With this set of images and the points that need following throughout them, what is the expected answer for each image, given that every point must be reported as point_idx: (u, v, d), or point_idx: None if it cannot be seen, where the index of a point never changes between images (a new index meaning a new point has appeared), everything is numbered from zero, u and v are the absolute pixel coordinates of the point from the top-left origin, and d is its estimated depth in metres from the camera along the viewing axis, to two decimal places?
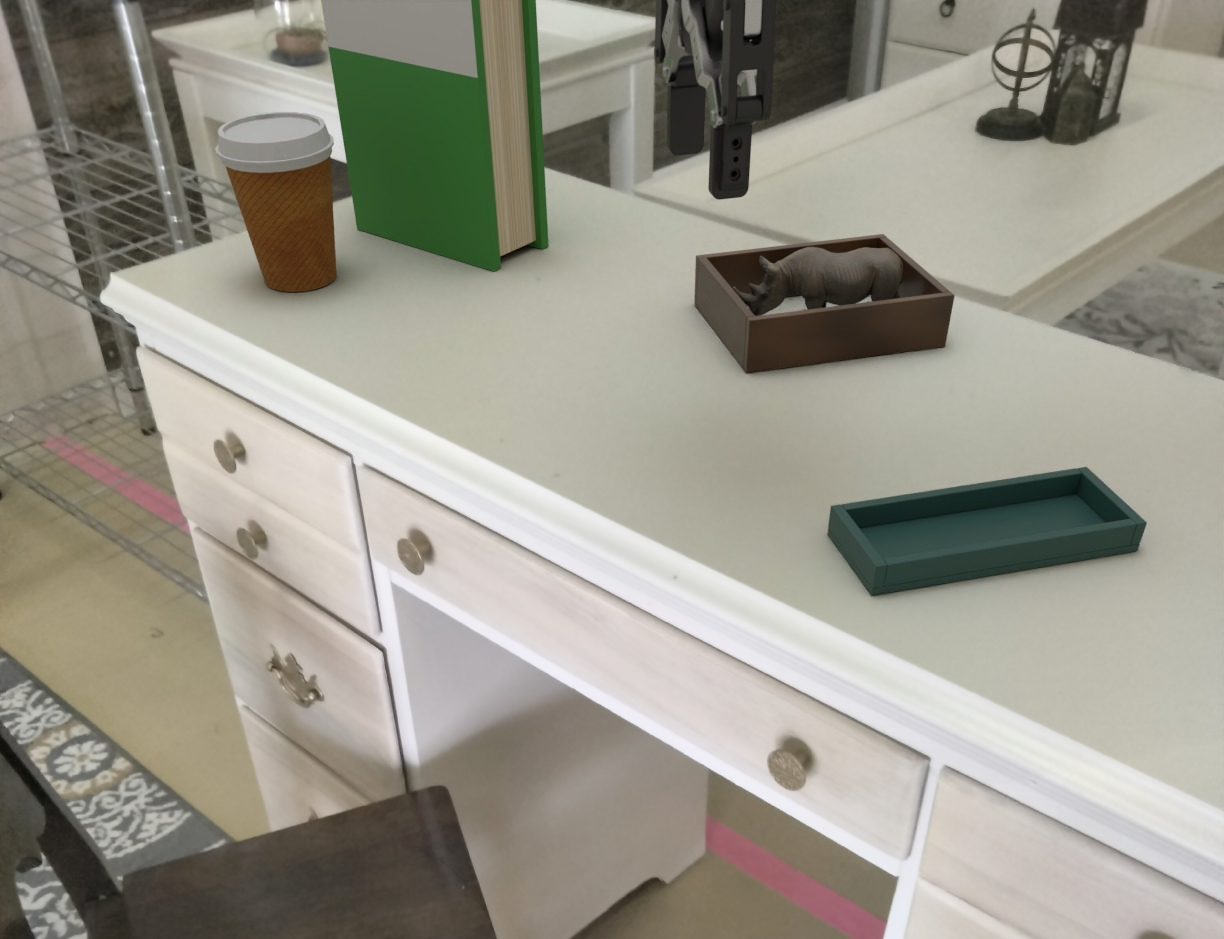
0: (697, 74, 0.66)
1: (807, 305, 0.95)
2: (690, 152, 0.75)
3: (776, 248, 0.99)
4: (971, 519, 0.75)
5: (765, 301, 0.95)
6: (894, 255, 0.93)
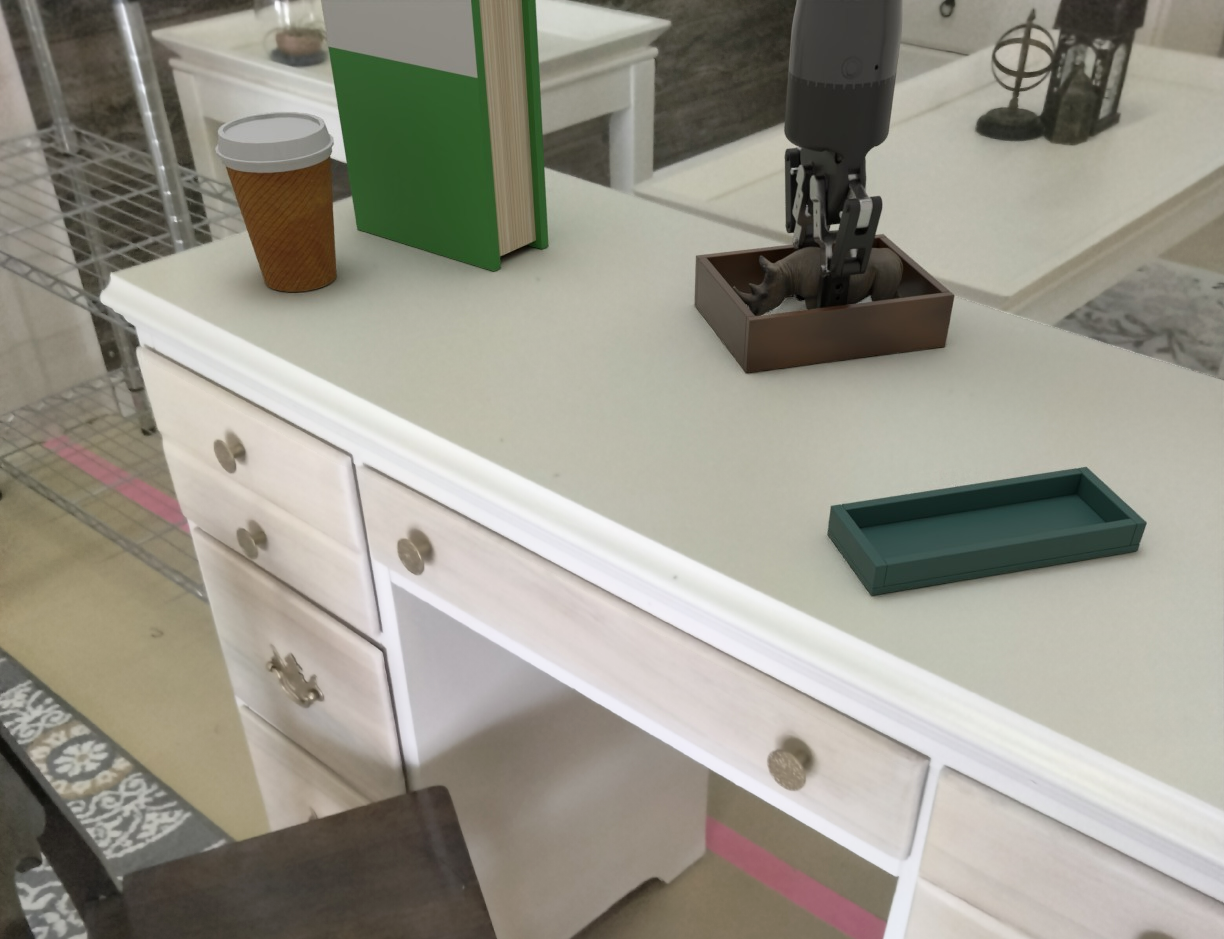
0: (815, 236, 0.90)
1: (807, 305, 0.95)
2: None
3: (776, 248, 0.99)
4: (971, 519, 0.75)
5: (765, 301, 0.95)
6: (894, 255, 0.93)
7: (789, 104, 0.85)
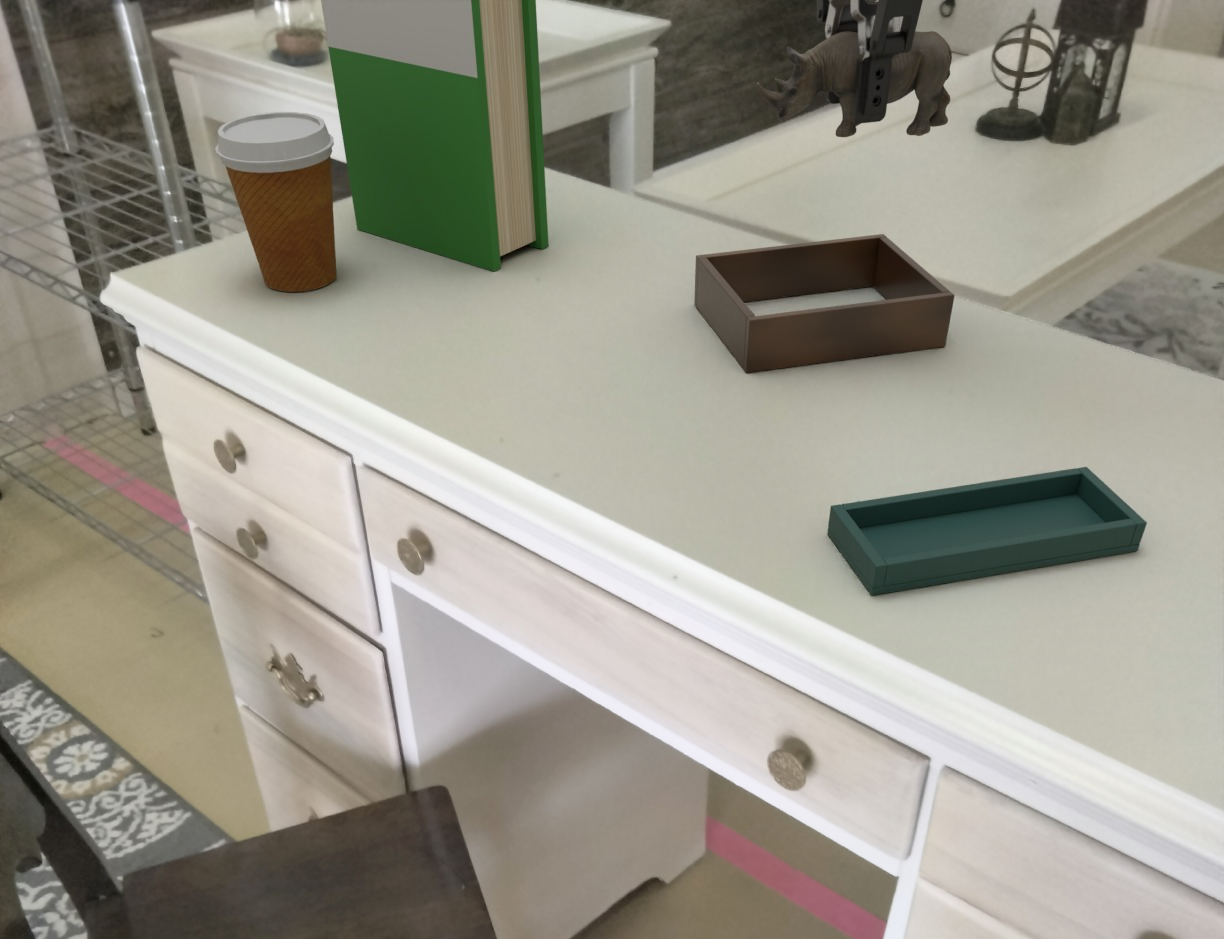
0: (852, 10, 0.78)
1: (841, 102, 0.83)
2: None
3: (776, 248, 0.99)
4: (971, 519, 0.75)
5: (793, 98, 0.83)
6: (942, 39, 0.81)
7: None
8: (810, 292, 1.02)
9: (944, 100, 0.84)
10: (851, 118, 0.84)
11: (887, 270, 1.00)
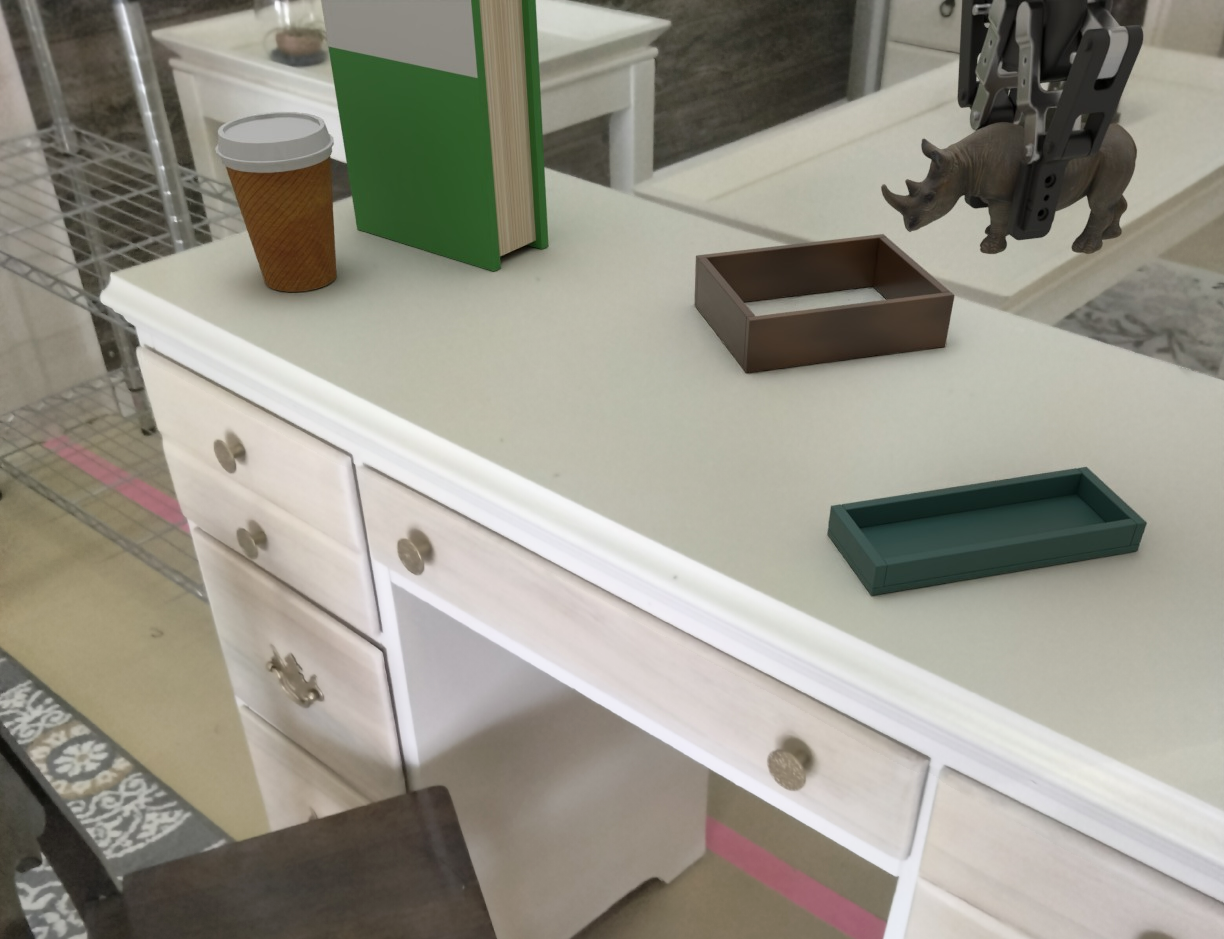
0: (1019, 99, 0.60)
1: (992, 211, 0.64)
2: None
3: (776, 248, 0.99)
4: (971, 519, 0.75)
5: (929, 205, 0.65)
6: (1127, 134, 0.63)
7: None
8: (810, 292, 1.02)
9: (1120, 208, 0.66)
10: (1002, 231, 0.65)
11: (887, 270, 1.00)
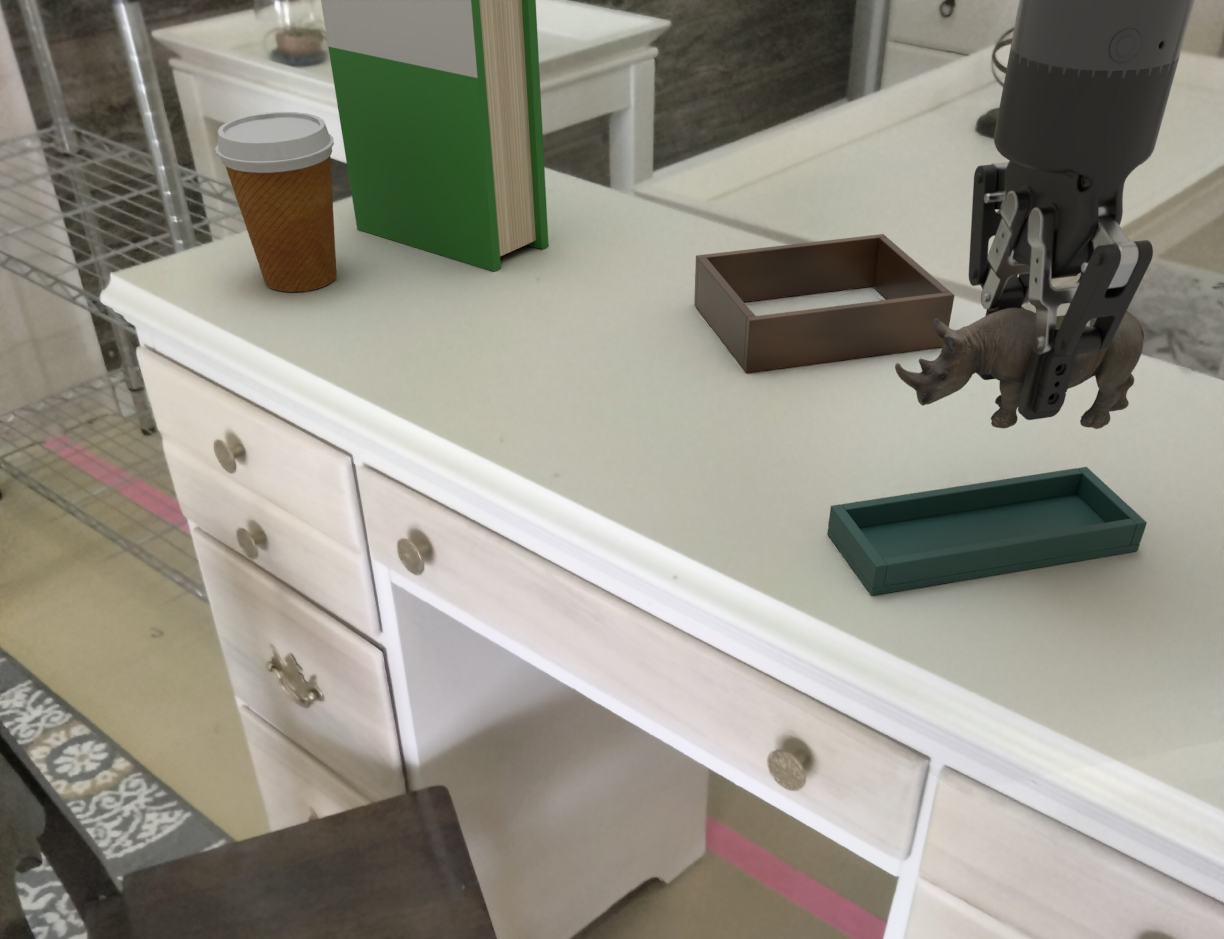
0: (1031, 295, 0.61)
1: (1003, 390, 0.66)
2: None
3: (776, 248, 0.99)
4: (971, 519, 0.75)
5: (942, 384, 0.66)
6: (1134, 320, 0.64)
7: (1010, 102, 0.57)
8: (810, 292, 1.02)
9: (1127, 383, 0.68)
10: (1013, 407, 0.67)
11: (887, 270, 1.00)
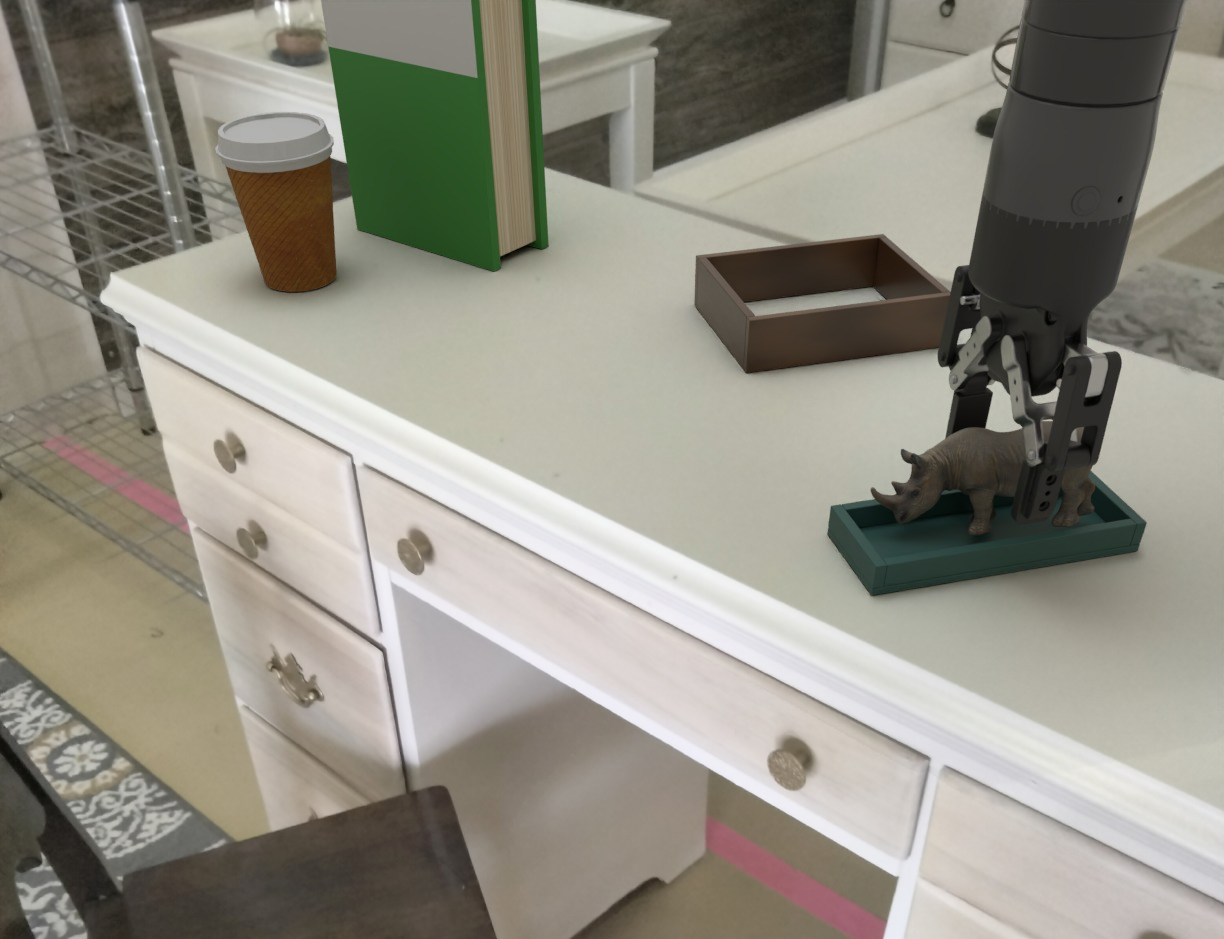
0: (1015, 414, 0.65)
1: (973, 499, 0.71)
2: None
3: (776, 248, 0.99)
4: None
5: (916, 500, 0.72)
6: None
7: (982, 243, 0.61)
8: (810, 292, 1.02)
9: (1089, 488, 0.73)
10: (986, 515, 0.72)
11: (887, 270, 1.00)
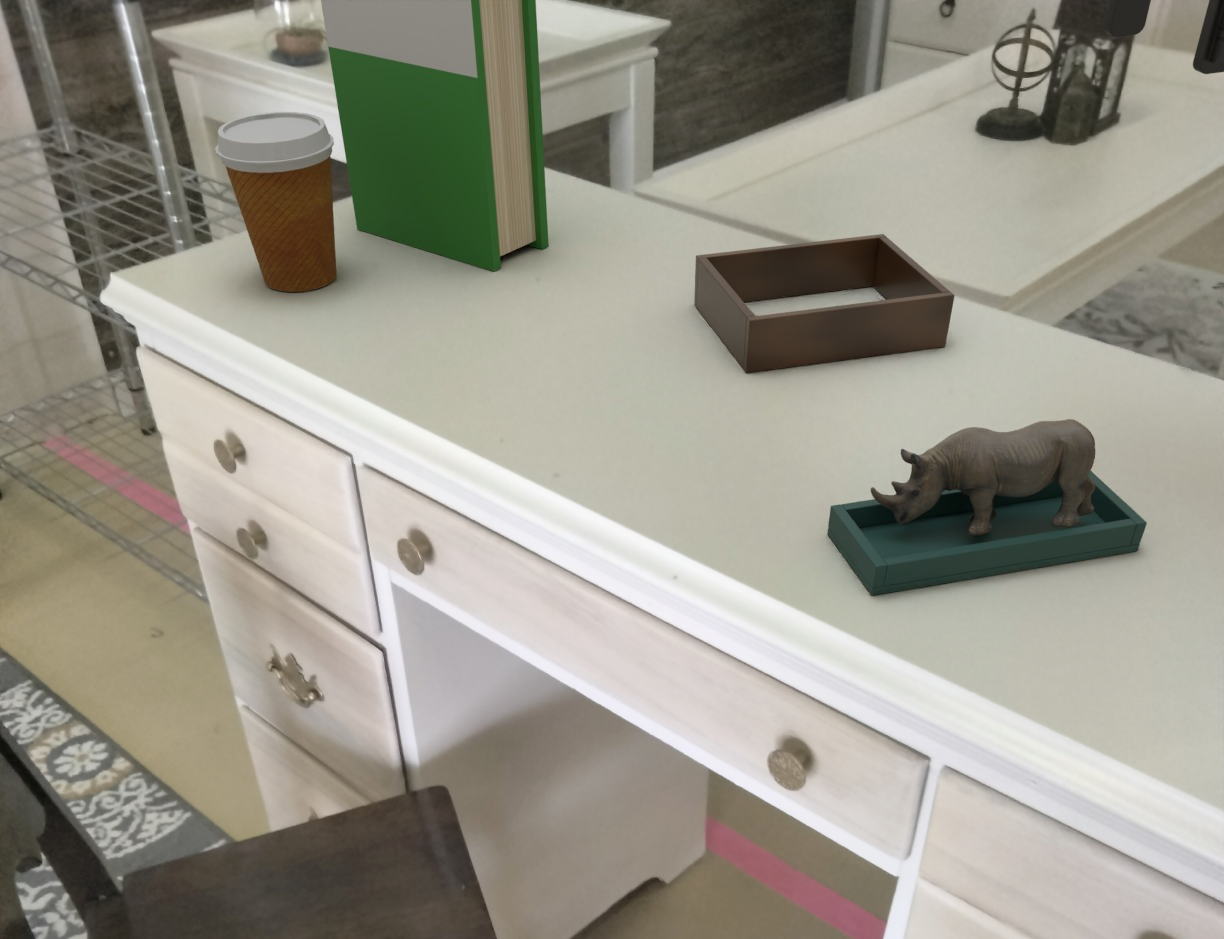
0: None
1: (973, 499, 0.71)
2: (1130, 33, 0.69)
3: (776, 248, 0.99)
4: None
5: (916, 500, 0.72)
6: (1082, 426, 0.71)
7: None
8: (810, 292, 1.02)
9: (1089, 488, 0.73)
10: (986, 515, 0.72)
11: (887, 270, 1.00)
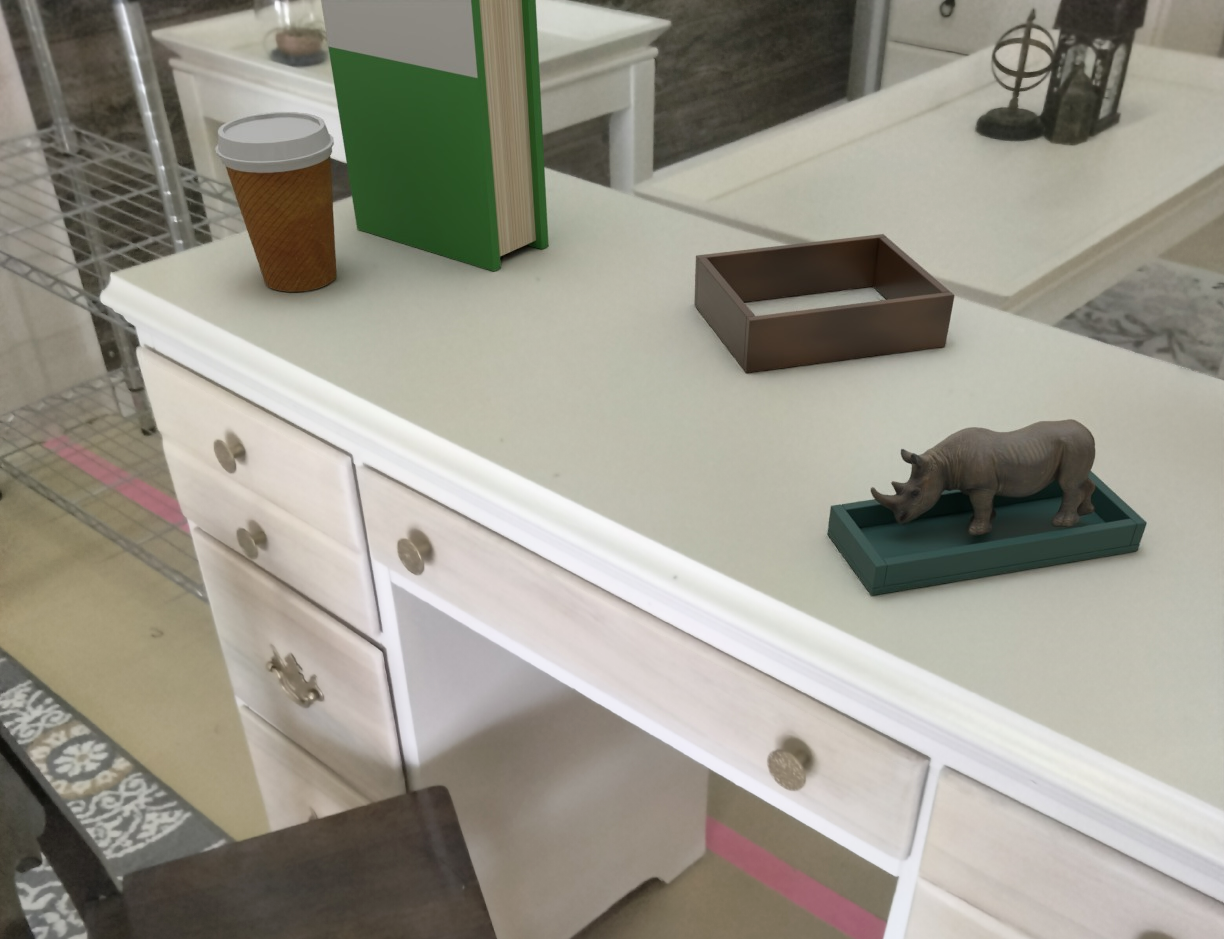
0: None
1: (973, 499, 0.71)
2: None
3: (776, 248, 0.99)
4: None
5: (916, 500, 0.72)
6: (1082, 426, 0.71)
7: None
8: (810, 292, 1.02)
9: (1089, 488, 0.73)
10: (986, 515, 0.72)
11: (887, 270, 1.00)
